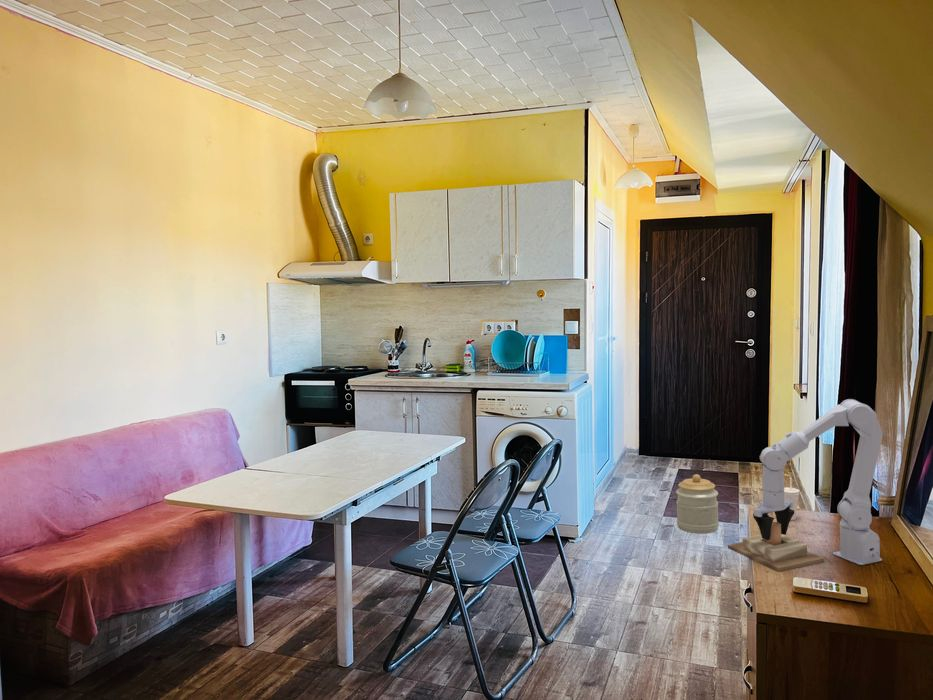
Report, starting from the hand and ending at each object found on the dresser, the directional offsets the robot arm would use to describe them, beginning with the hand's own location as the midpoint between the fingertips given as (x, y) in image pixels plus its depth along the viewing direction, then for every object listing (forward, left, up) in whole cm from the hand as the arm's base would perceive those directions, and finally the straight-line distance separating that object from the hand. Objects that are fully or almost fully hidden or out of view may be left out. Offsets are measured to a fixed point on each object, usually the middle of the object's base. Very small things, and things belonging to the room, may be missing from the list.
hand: (774, 536), depth 200 cm
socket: (0, 0, -5) cm, 5 cm away
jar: (+29, +4, -6) cm, 30 cm away
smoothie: (+23, -28, -6) cm, 37 cm away
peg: (0, 0, -4) cm, 4 cm away
